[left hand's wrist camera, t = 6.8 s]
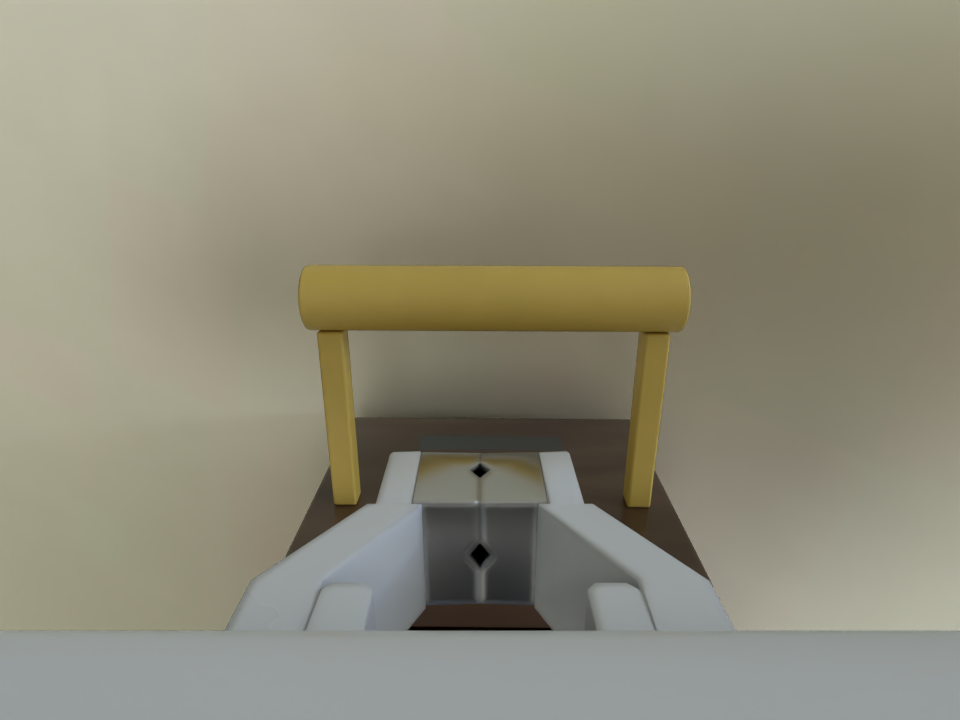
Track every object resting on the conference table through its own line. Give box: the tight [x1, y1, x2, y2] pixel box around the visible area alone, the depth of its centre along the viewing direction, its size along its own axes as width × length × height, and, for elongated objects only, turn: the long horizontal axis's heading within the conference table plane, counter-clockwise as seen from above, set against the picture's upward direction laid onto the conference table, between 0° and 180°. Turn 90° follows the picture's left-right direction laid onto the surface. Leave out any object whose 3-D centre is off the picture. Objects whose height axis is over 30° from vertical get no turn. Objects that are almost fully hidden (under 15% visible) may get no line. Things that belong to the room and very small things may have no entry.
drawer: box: [285, 265, 713, 631], centre depth 17 cm, size 18×9×8 cm, turn 0°
